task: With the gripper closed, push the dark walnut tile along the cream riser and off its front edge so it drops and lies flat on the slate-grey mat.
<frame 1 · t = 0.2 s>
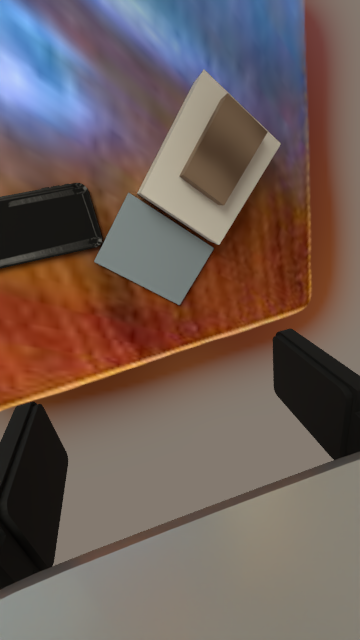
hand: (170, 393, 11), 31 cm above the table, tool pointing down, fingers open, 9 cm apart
mat: (156, 253, 39), on the table
phone: (36, 225, 35), on the table
walnut tile: (219, 155, 33), point 4 cm above the table, touching riser
riser: (202, 170, 36), on the table
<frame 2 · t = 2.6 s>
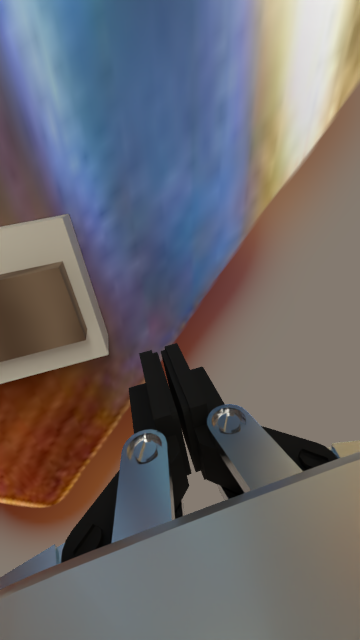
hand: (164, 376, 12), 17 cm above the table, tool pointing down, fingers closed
walnut tile: (17, 310, 22), point 4 cm above the table, touching riser
riser: (13, 298, 25), on the table
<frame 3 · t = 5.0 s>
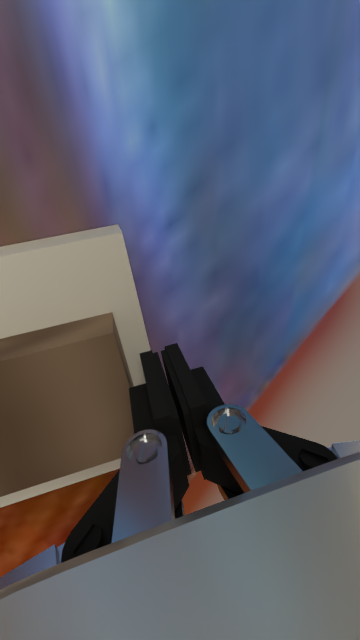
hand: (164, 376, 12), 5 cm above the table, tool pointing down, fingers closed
walnut tile: (28, 397, 12), point 4 cm above the table, touching gripper, riser
riser: (21, 358, 15), on the table
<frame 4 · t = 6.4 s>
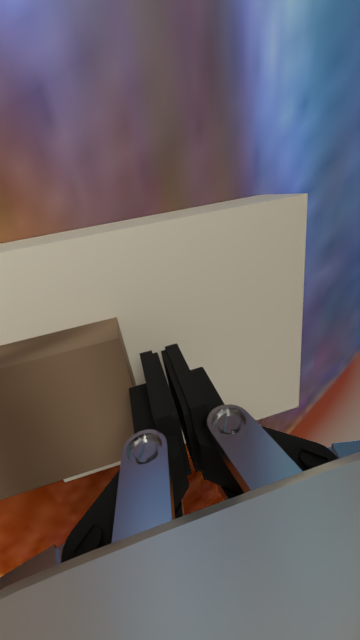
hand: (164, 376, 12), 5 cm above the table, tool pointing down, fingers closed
walnut tile: (34, 400, 12), point 4 cm above the table, touching gripper, riser
riser: (157, 321, 17), on the table
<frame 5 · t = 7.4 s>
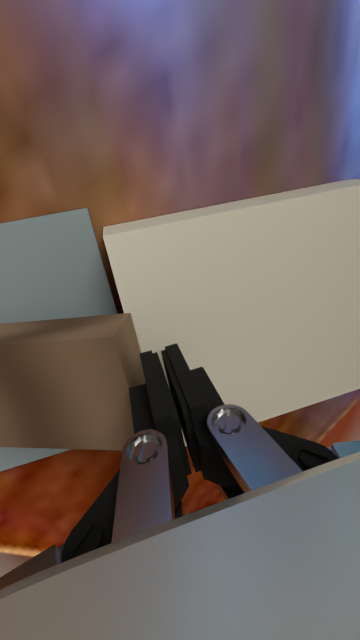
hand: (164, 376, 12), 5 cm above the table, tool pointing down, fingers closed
mat: (36, 355, 16), on the table
walnut tile: (61, 373, 14), point 2 cm above the table, tilted 23°, touching mat
riser: (239, 303, 17), on the table
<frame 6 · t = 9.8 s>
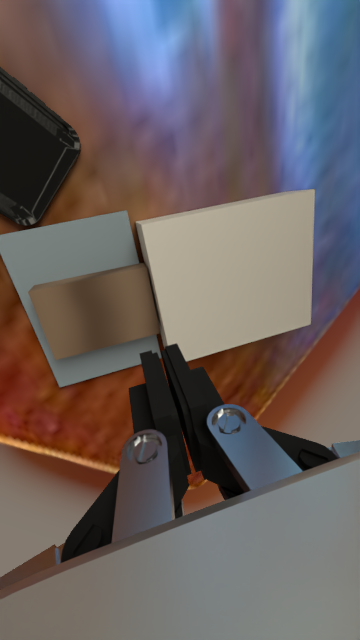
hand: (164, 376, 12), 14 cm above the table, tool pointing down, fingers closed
mat: (90, 304, 24), on the table
walnut tile: (100, 306, 24), point 1 cm above the table, touching mat
riser: (220, 272, 26), on the table
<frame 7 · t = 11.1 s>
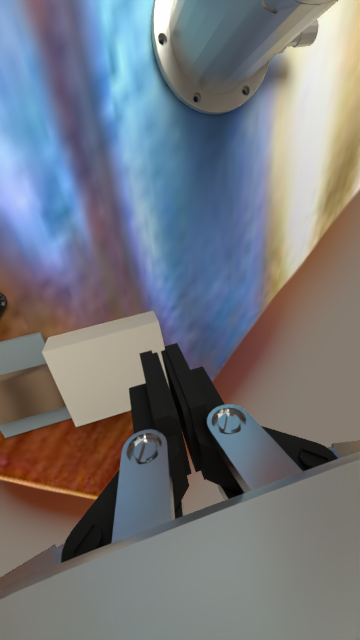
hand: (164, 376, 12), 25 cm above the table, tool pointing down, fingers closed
mat: (22, 386, 37), on the table
walnut tile: (28, 388, 37), point 1 cm above the table, touching mat
riser: (114, 360, 39), on the table
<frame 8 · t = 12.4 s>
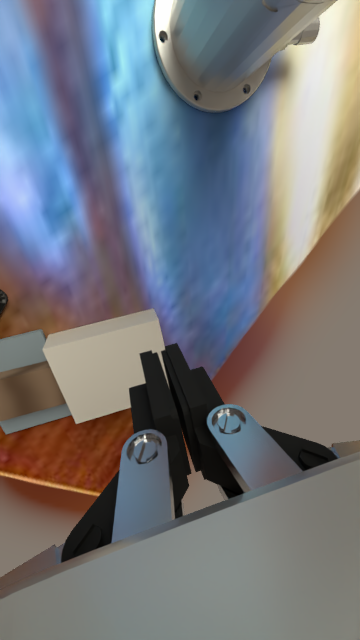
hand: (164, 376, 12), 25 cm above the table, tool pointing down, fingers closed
mat: (23, 383, 37), on the table
walnut tile: (29, 385, 37), point 1 cm above the table, touching mat
riser: (114, 358, 39), on the table
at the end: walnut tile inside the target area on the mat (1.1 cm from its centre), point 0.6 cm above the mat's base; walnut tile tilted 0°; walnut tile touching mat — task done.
